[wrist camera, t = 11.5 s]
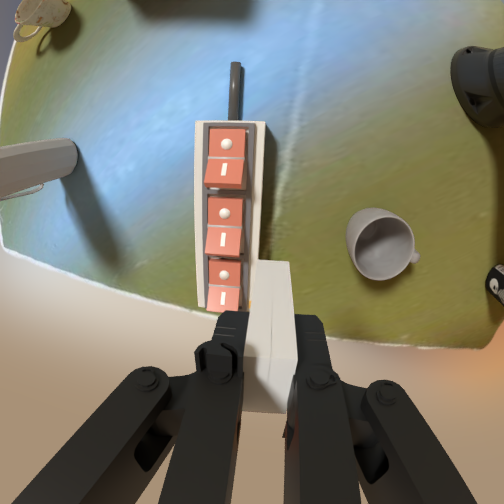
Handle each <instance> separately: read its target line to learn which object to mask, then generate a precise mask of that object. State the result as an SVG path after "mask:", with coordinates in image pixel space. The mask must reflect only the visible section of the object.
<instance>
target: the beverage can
mask: <svg viewBox="0 0 504 504" xmlns="http://www.w3.org/2000/svg"><path fill="white" fill-rule="evenodd" d="M486 288H487V290H488V291H489V292H490V293H491V294H492V295H493V296H494V297H495V298H496V299H497V300H498V301H499V302H500V303H501V304H502V305H503V306H504V265H501V264H499V265H497V266H494V267H493V268H492V269H491V270H490V272H489V274H488V276H487V279H486Z"/></svg>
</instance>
